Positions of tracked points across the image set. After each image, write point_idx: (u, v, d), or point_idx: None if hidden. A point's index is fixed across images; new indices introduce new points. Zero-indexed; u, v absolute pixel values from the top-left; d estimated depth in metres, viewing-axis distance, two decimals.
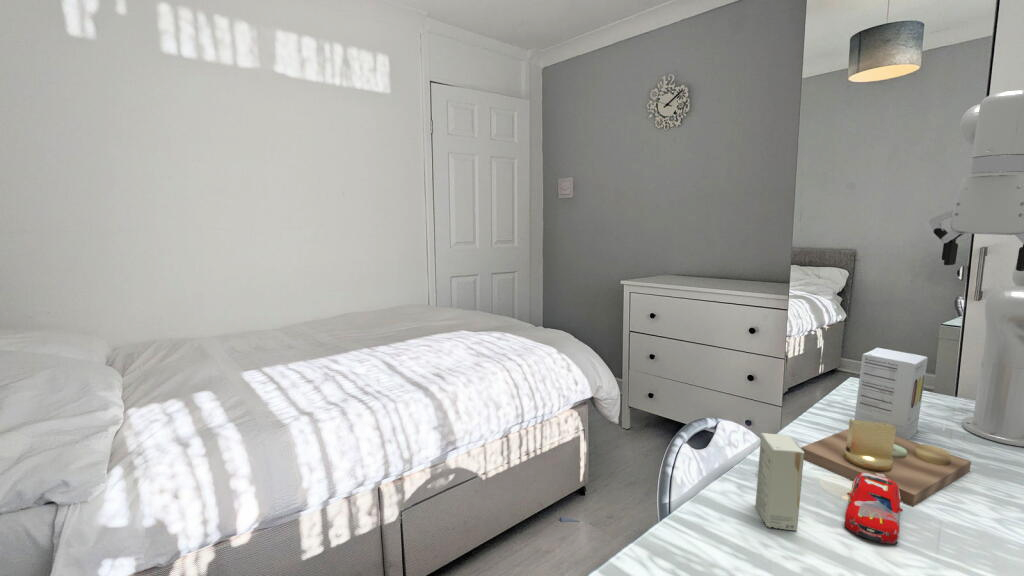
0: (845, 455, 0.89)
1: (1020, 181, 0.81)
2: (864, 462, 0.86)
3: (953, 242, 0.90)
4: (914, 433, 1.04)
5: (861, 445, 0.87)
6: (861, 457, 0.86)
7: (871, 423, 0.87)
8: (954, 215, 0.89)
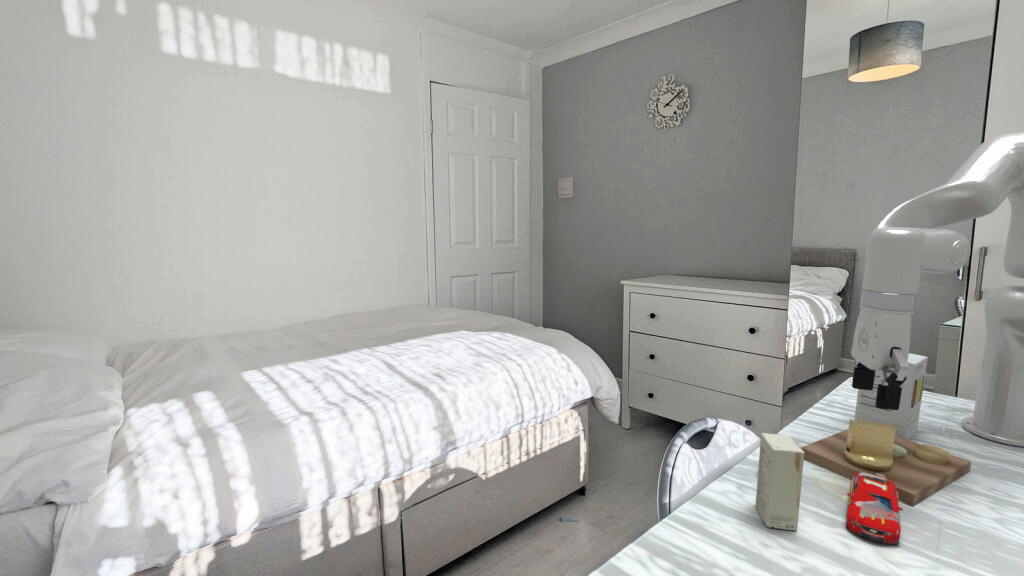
0: (845, 455, 0.89)
1: None
2: (864, 462, 0.86)
3: None
4: (914, 433, 1.04)
5: (861, 445, 0.87)
6: (861, 457, 0.86)
7: (871, 423, 0.87)
8: (907, 356, 0.80)
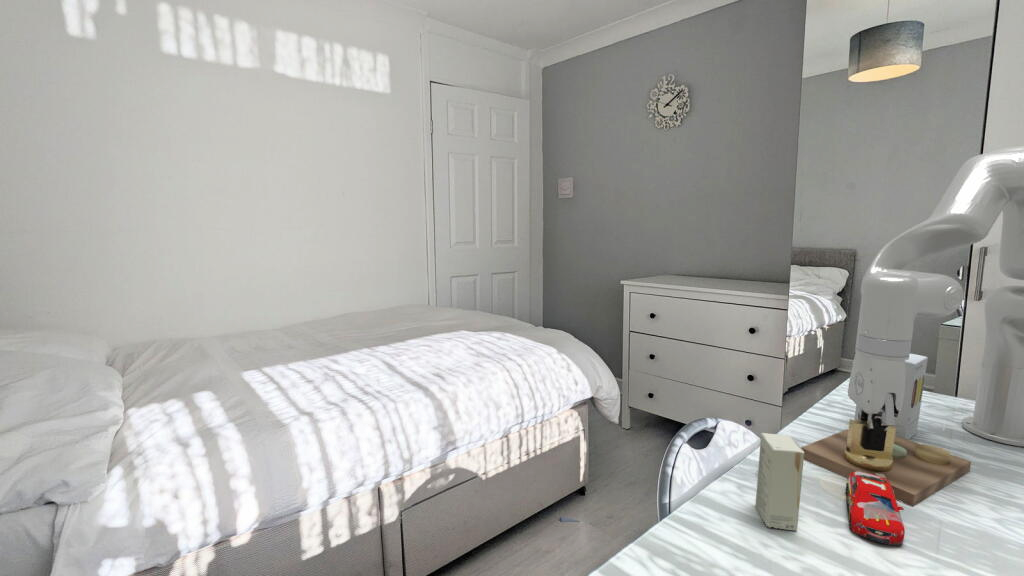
0: (845, 455, 0.89)
1: None
2: (864, 462, 0.86)
3: None
4: (914, 433, 1.04)
5: (861, 445, 0.87)
6: (861, 457, 0.86)
7: None
8: (902, 401, 0.81)
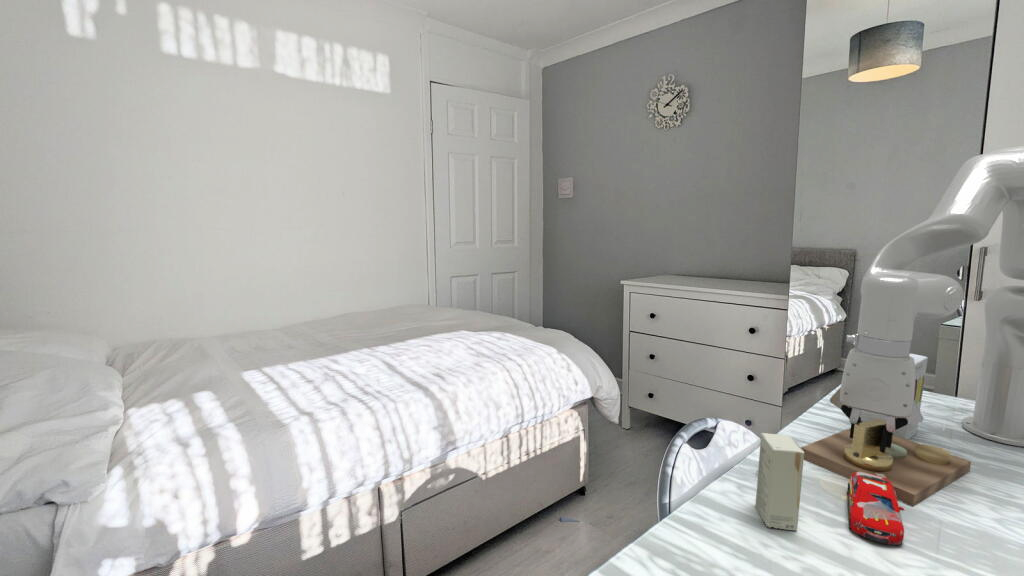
0: (853, 461, 0.87)
1: None
2: (879, 465, 0.85)
3: None
4: (914, 433, 1.04)
5: (868, 448, 0.86)
6: (873, 460, 0.85)
7: (872, 423, 0.87)
8: None
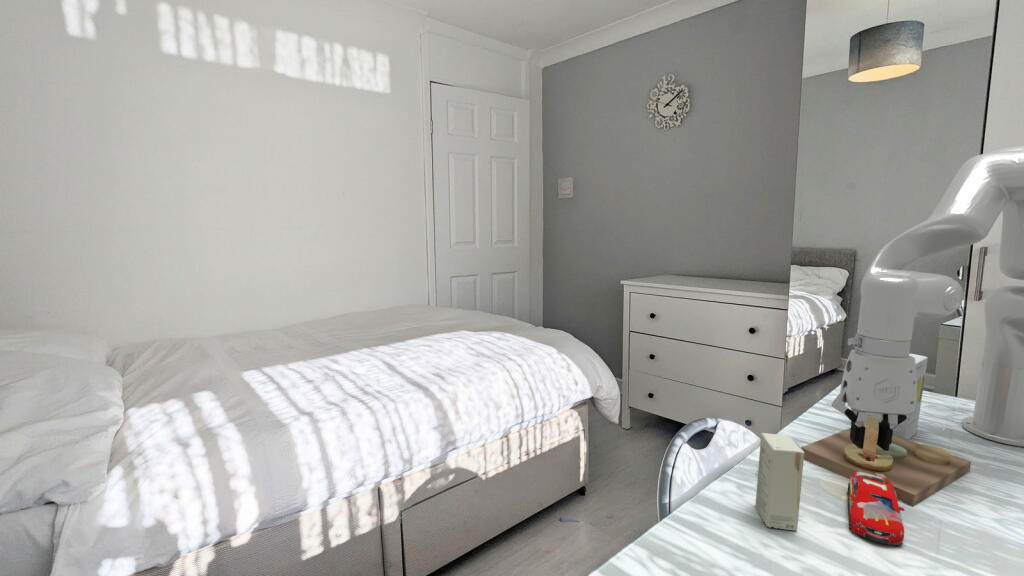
0: (866, 466, 0.85)
1: None
2: (889, 464, 0.85)
3: (882, 424, 0.87)
4: (914, 433, 1.04)
5: None
6: (883, 461, 0.85)
7: (872, 423, 0.87)
8: None
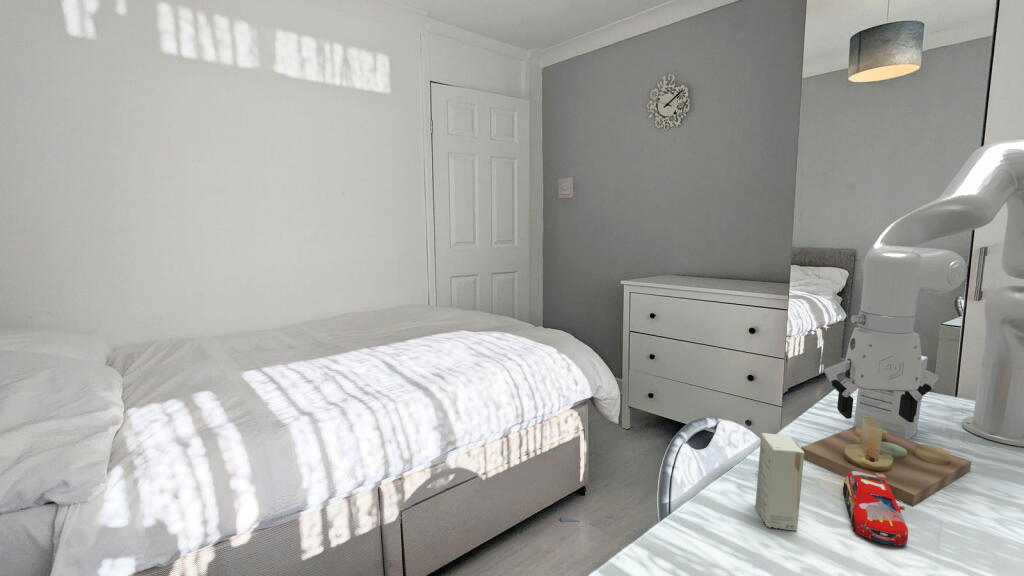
0: (870, 467, 0.85)
1: None
2: (891, 463, 0.85)
3: (906, 396, 0.86)
4: (914, 433, 1.04)
5: None
6: (885, 460, 0.85)
7: (873, 423, 0.87)
8: None
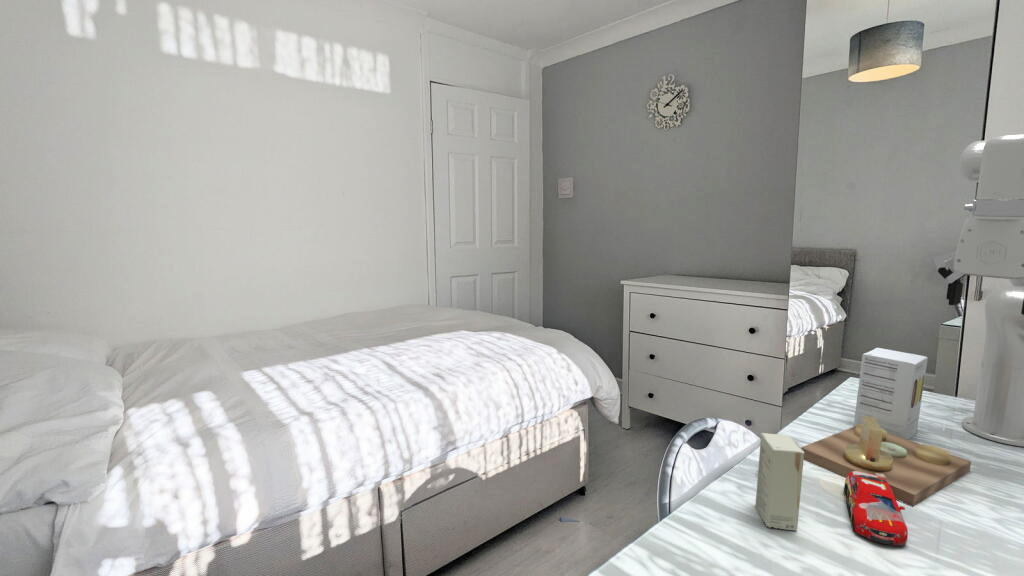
0: (871, 467, 0.85)
1: None
2: (891, 463, 0.85)
3: None
4: (914, 433, 1.04)
5: None
6: (886, 460, 0.85)
7: (873, 423, 0.87)
8: None
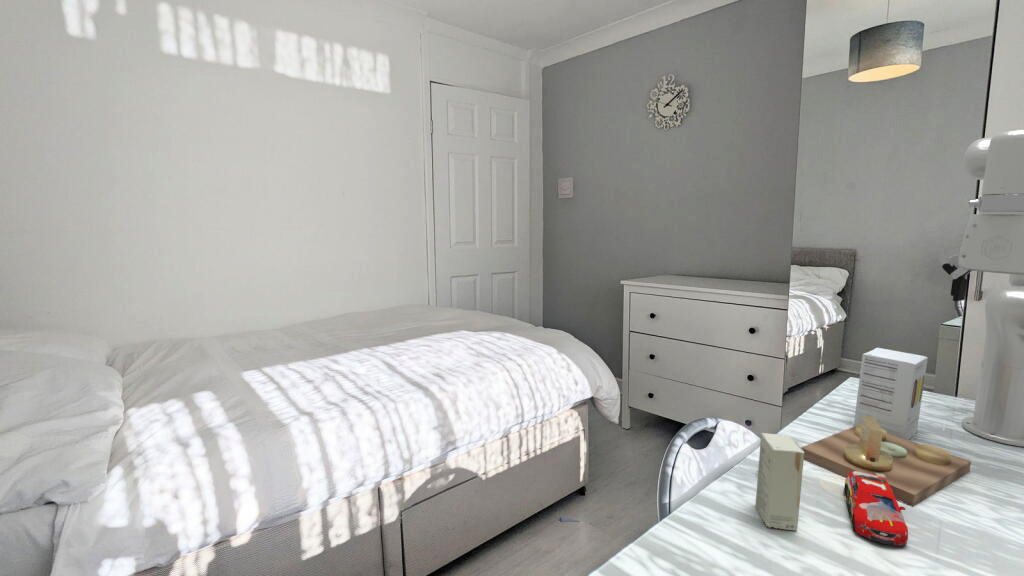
0: (871, 467, 0.85)
1: None
2: (891, 463, 0.85)
3: None
4: (914, 433, 1.04)
5: None
6: (886, 460, 0.85)
7: (873, 423, 0.87)
8: None
